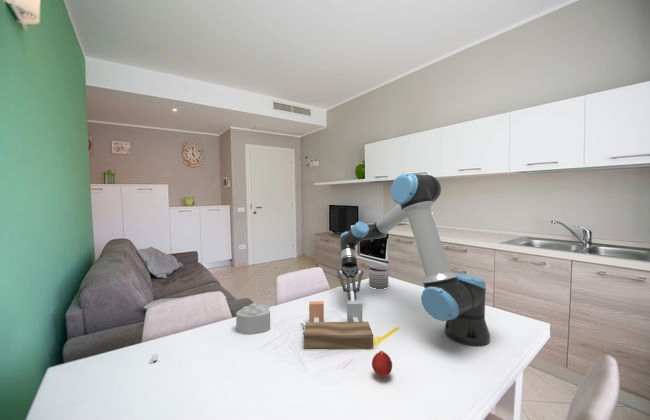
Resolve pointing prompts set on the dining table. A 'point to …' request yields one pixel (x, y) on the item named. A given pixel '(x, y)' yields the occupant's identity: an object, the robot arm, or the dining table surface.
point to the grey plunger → (354, 311)
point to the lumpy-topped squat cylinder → (253, 319)
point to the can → (378, 277)
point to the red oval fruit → (382, 364)
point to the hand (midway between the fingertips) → (352, 306)
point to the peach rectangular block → (316, 311)
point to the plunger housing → (338, 335)
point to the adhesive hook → (154, 358)
